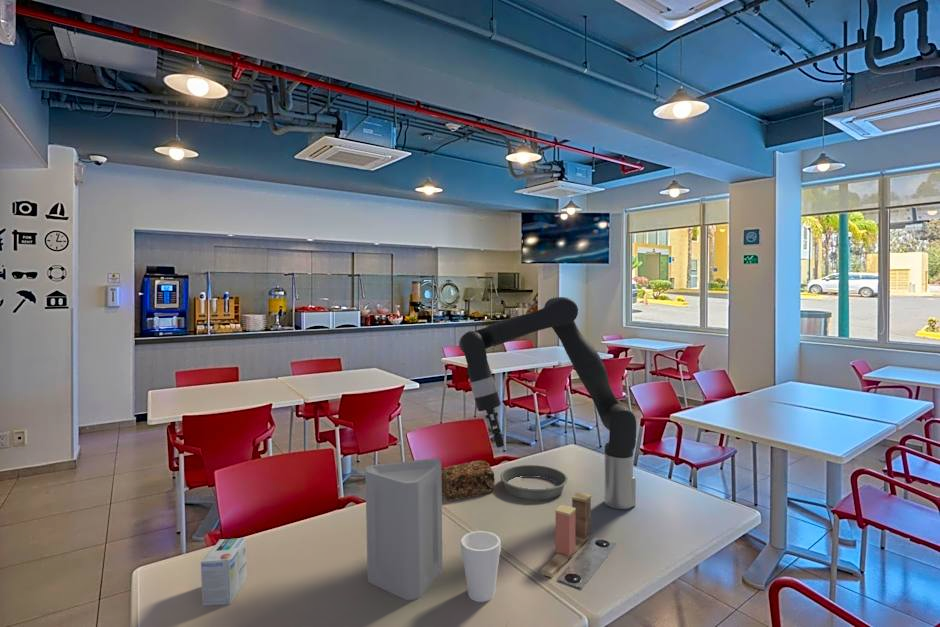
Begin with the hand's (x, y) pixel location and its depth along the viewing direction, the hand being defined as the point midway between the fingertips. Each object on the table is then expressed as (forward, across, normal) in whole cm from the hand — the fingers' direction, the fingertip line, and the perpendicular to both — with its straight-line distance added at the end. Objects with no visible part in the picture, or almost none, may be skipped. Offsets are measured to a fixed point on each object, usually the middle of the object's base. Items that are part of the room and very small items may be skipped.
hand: (499, 444), depth 152 cm
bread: (+18, +28, +16) cm, 37 cm away
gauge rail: (+31, -14, -10) cm, 35 cm away
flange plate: (+33, -18, -14) cm, 40 cm away
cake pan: (+24, +31, -8) cm, 40 cm away
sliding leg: (+30, -16, -9) cm, 35 cm away
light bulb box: (+11, -30, +74) cm, 81 cm away
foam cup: (+27, -32, +14) cm, 44 cm away
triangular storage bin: (+22, -27, +32) cm, 47 cm away
